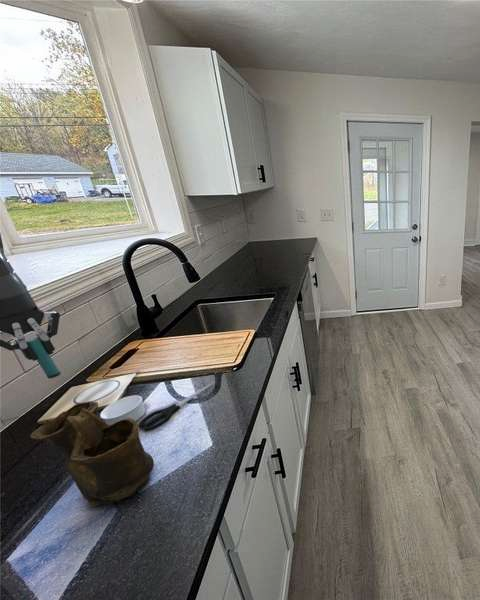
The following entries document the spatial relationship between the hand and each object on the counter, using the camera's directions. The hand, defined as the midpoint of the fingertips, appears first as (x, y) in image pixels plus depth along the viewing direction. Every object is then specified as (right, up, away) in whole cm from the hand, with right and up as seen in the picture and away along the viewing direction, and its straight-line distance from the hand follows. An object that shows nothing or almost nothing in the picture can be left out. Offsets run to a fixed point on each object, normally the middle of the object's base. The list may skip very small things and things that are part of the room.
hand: (42, 356), depth 80 cm
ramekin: (+17, -18, +6) cm, 26 cm away
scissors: (+29, -16, +10) cm, 34 cm away
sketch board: (-3, -15, +16) cm, 22 cm away
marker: (0, -6, +2) cm, 6 cm away
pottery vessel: (+32, -25, -13) cm, 43 cm away
